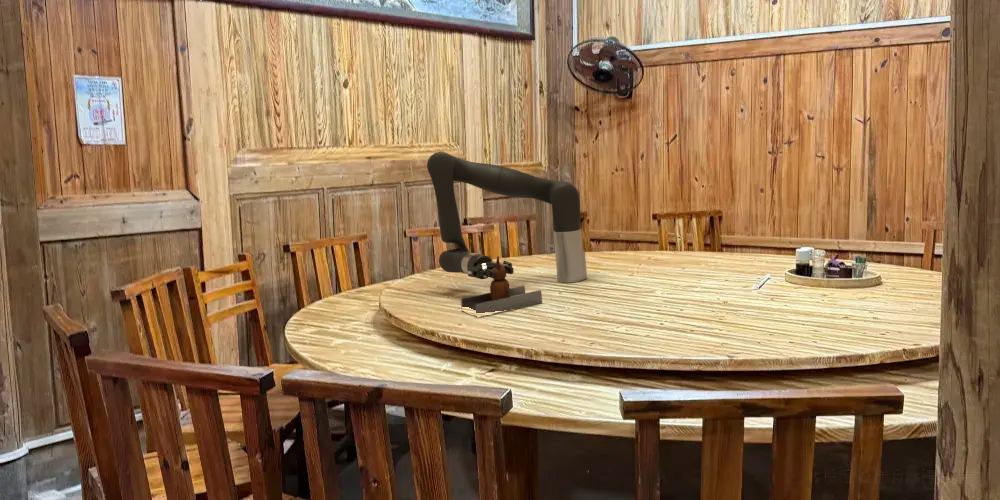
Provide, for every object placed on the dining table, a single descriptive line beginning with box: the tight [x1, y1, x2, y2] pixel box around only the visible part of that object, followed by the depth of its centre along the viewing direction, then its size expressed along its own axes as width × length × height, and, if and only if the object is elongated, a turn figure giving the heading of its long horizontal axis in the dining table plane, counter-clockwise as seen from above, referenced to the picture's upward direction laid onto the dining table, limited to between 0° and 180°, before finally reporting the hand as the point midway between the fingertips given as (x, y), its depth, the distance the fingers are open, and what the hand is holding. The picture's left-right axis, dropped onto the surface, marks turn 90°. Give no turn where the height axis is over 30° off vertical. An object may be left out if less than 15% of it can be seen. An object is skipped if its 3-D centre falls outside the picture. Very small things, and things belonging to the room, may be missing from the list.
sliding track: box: [460, 285, 543, 313], centre depth 255 cm, size 22×11×4 cm, turn 118°
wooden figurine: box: [489, 255, 511, 300], centre depth 253 cm, size 7×6×15 cm
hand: (502, 272), depth 251 cm, fingers open, 6 cm apart
